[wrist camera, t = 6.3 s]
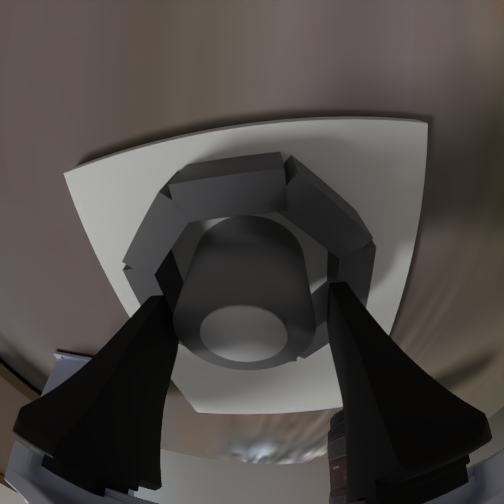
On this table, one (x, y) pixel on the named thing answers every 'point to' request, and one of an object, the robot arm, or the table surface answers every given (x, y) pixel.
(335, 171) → the board
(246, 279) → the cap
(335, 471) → the camera lens
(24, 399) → the photo frame
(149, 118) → the table surface
